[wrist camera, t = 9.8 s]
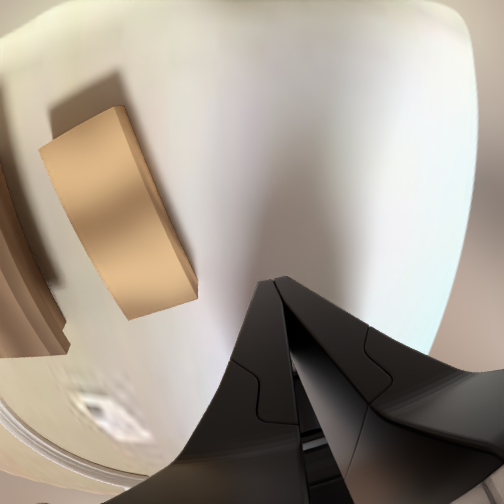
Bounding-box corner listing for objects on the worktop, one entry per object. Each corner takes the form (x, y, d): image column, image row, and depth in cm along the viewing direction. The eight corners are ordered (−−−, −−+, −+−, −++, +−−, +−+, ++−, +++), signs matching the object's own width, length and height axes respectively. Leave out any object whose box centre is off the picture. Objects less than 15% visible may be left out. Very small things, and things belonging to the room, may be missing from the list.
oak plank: (198, 278, 20) (197, 298, 18) (134, 299, 20) (128, 320, 18) (125, 105, 15) (113, 106, 12) (56, 142, 15) (38, 149, 13)
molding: (-57, 373, 22) (-64, 386, 20) (-48, 344, 20) (-58, 360, 18) (143, 494, 41) (142, 506, 39) (186, 486, 39) (186, 500, 37)
